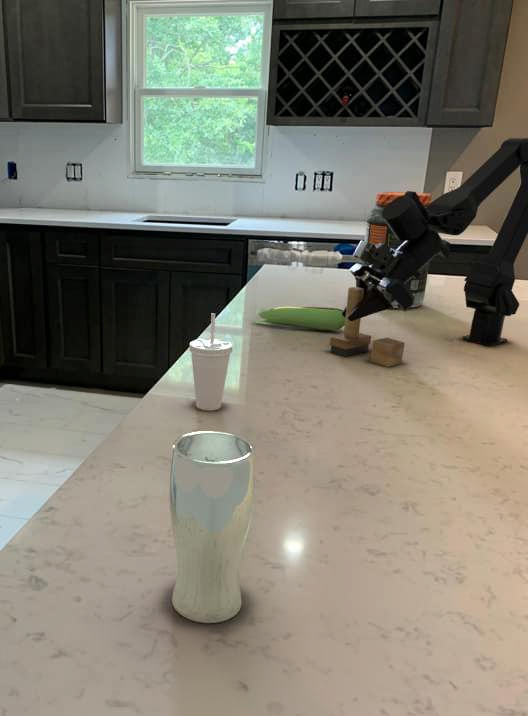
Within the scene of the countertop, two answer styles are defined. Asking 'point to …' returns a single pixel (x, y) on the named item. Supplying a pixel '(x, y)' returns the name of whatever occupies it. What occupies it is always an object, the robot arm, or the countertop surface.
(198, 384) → the smoothie
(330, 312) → the edible corn
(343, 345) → the brush
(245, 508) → the beer glass
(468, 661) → the countertop surface
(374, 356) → the cork block
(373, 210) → the supplement tub
